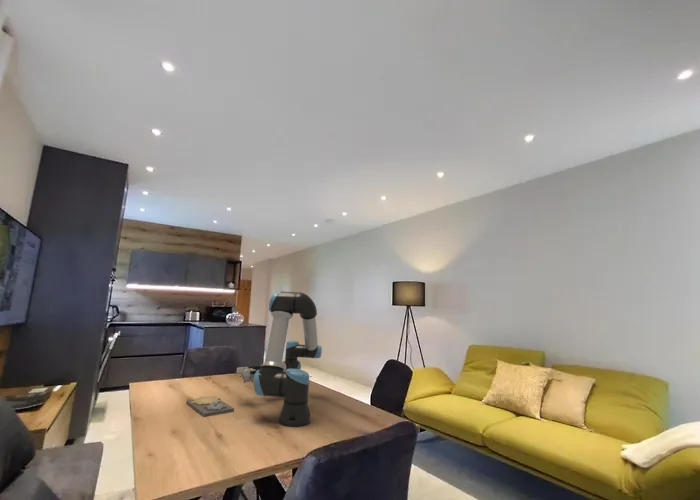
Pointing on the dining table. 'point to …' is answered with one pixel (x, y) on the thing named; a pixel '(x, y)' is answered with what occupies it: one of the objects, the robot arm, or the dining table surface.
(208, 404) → the gear board
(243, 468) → the dining table surface
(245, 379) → the game die
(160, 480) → the dining table surface
